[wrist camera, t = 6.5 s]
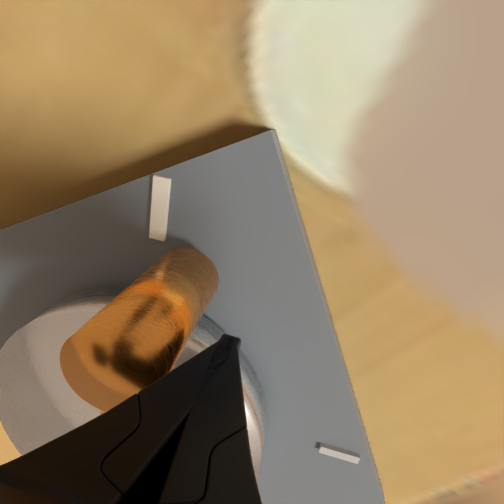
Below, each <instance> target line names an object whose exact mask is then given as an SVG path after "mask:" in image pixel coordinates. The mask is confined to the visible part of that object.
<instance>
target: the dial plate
mask: <svg viewBox="0 0 504 504" xmlns="http://www.w3.org/2000/svg"><path fill="white" fill-rule="evenodd" d="M181 247H187V248H192V249H195V250H198V251H200V252H202V253H203V254H205V255H206V256H207V257H208V258H209V259H210V260H211V261H212V262H213V264H214V265H215V267H216V269H217V272H218V276H219V285H218V289H217V291H216V293H215V295H214V297H213V299H212V300H211V302H210V304H209V305H208V307H207V309H206V311H205V312H204V314H203V316H204V317H206V318H207V319H209V320H210V321H211V322H213V323H214V324H215V325H216V326H218V327H219V328H220V329H221V330H222V331H223V332H225V333H226V334H228V335H232V336H235V337H239V338H240V339H241V346H240V349H241V350H242V352H243V353H244V355H245V356H246V357H247V359H248V360H249V361H250V363H251V365H252V367H253V368H254V370H255V372H256V374H257V376H258V378H259V381H260V383H261V386H262V388H263V391H264V396H265V400H266V405H267V424H266V431H265V438H264V444H263V451H262V457H261V464H260V470H259V475H258V478H257V485H258V489H259V493H260V497H261V501H262V504H385V499H384V494H383V488H382V485H381V481H380V478H379V475H378V471H377V468H376V465H375V461H374V458H373V455H372V451H371V448H370V445H369V441H368V438H367V435H366V431H365V428H364V425H363V421H362V418H361V414H360V411H359V408H358V404H357V401H356V398H355V394H354V391H353V388H352V384H351V381H350V378H349V374H348V371H347V368H346V364H345V361H344V358H343V354H342V351H341V348H340V344H339V341H338V337H337V334H336V331H335V327H334V324H333V321H332V317H331V314H330V311H329V307H328V304H327V301H326V297H325V294H324V291H323V287H322V284H321V281H320V277H319V274H318V270H317V267H316V264H315V260H314V257H313V254H312V250H311V247H310V244H309V240H308V237H307V234H306V230H305V227H304V224H303V220H302V217H301V214H300V210H299V207H298V204H297V200H296V197H295V193H294V190H293V187H292V183H291V180H290V177H289V173H288V170H287V167H286V163H285V160H284V157H283V153H282V150H281V147H280V143H279V140H278V137H277V133H276V130H269V131H266V132H264V133H261V134H258V135H256V136H253V137H250V138H247V139H245V140H242V141H239V142H237V143H234V144H231V145H228V146H226V147H223V148H220V149H218V150H215V151H212V152H209V153H207V154H204V155H201V156H199V157H196V158H193V159H190V160H188V161H185V162H182V163H180V164H177V165H174V166H171V167H169V168H166V169H163V170H160V171H158V172H155V173H152V174H150V175H147V176H144V177H141V178H139V179H136V180H133V181H131V182H128V183H125V184H122V185H120V186H117V187H114V188H112V189H109V190H106V191H103V192H101V193H98V194H95V195H93V196H90V197H87V198H84V199H82V200H79V201H76V202H74V203H71V204H68V205H65V206H63V207H60V208H57V209H55V210H52V211H49V212H46V213H44V214H41V215H38V216H36V217H33V218H30V219H27V220H25V221H22V222H19V223H17V224H14V225H11V226H8V227H6V228H3V229H0V350H1V348H2V347H3V345H4V344H5V342H6V341H7V340H8V339H9V338H10V337H11V336H12V335H13V334H14V333H15V332H16V331H18V330H19V329H21V328H22V327H24V326H25V325H26V324H28V323H29V322H31V321H32V320H34V319H35V318H37V317H38V316H39V315H41V314H42V313H44V312H45V311H47V310H48V309H50V308H51V307H52V306H54V305H55V304H57V303H58V302H60V301H62V300H63V299H65V298H67V297H69V296H71V295H74V294H76V293H78V292H82V291H86V290H90V289H96V288H106V287H120V288H127V287H128V286H129V285H130V284H132V283H133V282H134V281H135V280H136V279H137V278H138V277H140V276H141V275H142V274H143V273H144V272H145V271H147V270H148V269H149V268H150V267H151V266H152V265H153V264H155V263H156V262H157V261H158V260H159V259H160V258H161V257H163V256H164V255H165V254H166V253H167V252H169V251H170V250H173V249H175V248H181Z"/></svg>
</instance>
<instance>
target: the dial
mask: <svg viewBox="0 0 504 504" xmlns="http://www.w3.org/2000/svg"><path fill="white" fill-rule="evenodd" d="M218 285H219V276H218V272H217V269H216V267H215V265H214V264H213V262H212V261H211V260H210V259H209V258H208V257H207V256H206V255H205V254H203V253H202V252H200V251H198V250H195V249H192V248H187V247H181V248H175V249H173V250H170V251H169V252H167V253H166V254H165V255H164V256H163V257H161V258H160V259H159V260H158V261H157V262H156V263H155V264H153V265H152V266H151V267H150V268H149V269H148V270H147V271H145V272H144V273H143V274H142V275H141V276H140V277H138V278H137V279H136V280H135V281H134V282H133V283H132V284H130V285H129V286H128V287H127V288H120V287H106V288H96V289H90V290H86V291H82V292H78V293H76V294H74V295H71V296H69V297H67V298H65V299H63V300H62V301H60V302H58V303H57V304H55V305H54V306H52V307H51V308H50V309H48V310H47V311H45V312H44V313H42V314H41V315H39V316H38V317H37V318H35V319H34V320H32V321H31V322H29V323H28V324H26V325H25V326H24V327H22V328H21V329H19V330H18V331H16V332H15V333H14V334H13V335H12V336H11V337H10V338H9V339H8V340H7V341H6V342H5V344H4V345H3V347H2V348H1V350H0V421H1V423H2V425H3V428H4V429H5V431H6V433H7V435H8V436H9V438H10V440H11V441H12V443H13V444H14V445H15V447H16V448H17V450H18V451H19V452H20V453H21V455H22V456H23V455H25V454H26V453H28V452H30V451H32V450H34V449H36V448H38V447H40V446H42V445H44V444H46V443H48V442H50V441H52V440H54V439H56V438H58V437H60V436H62V435H63V434H65V433H67V432H69V431H71V430H73V429H75V428H77V427H79V426H81V425H83V424H85V423H87V422H88V421H90V420H92V419H94V418H96V417H98V416H99V415H101V414H103V413H105V412H107V411H108V410H110V409H111V408H113V407H115V406H116V405H118V404H120V403H121V402H123V401H125V400H126V399H128V398H129V397H131V396H132V395H134V394H136V393H137V394H138V392H139V391H140V390H142V389H144V388H145V387H147V386H148V385H150V384H151V383H153V382H155V381H156V380H158V379H159V378H161V377H162V376H164V375H165V374H167V373H169V372H170V371H172V370H173V369H175V368H176V367H178V366H179V365H181V364H183V363H184V362H186V361H187V360H189V359H190V358H192V357H194V356H195V355H197V354H198V353H200V352H201V351H203V350H204V349H206V348H208V347H209V346H211V345H212V344H214V343H215V342H217V341H218V340H219V339H220V337H221V336H222V335H223V334H226V333H225V332H223V331H222V330H221V329H220V328H219V327H218V326H216V325H215V324H214V323H213V322H211V321H210V320H209V319H207V318H206V317H204V316H203V314H204V312H205V311H206V309H207V307H208V305H209V304H210V302H211V300H212V299H213V297H214V295H215V293H216V291H217V289H218ZM239 361H240V369H241V378H242V386H243V395H244V403H245V412H246V420H247V429H248V436H249V444H250V450H251V456H252V463H253V467H254V472H255V476H256V481H257V478H258V475H259V470H260V464H261V457H262V451H263V444H264V438H265V431H266V424H267V405H266V400H265V396H264V391H263V388H262V386H261V383H260V381H259V378H258V376H257V374H256V372H255V370H254V368H253V367H252V365H251V363H250V361H249V360H248V359H247V357H246V356H245V355H244V353H243V352H242V350H241V349H240V351H239Z"/></svg>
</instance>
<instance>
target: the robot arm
mask: <svg viewBox="0 0 504 504" xmlns="http://www.w3.org/2000/svg"><path fill="white" fill-rule="evenodd" d="M240 346H241V339H240V338H239V337H235V336H232V335H228V334H223V335H222V336H221V337H220V339H219V340H218V341H217V342H215V343H214V344H212V345H211V346H209V347H208V348H206V349H204V350H203V351H201V352H200V353H198V354H197V355H195V356H194V357H192V358H190V359H189V360H187V361H186V362H184V363H183V364H181V365H179V366H178V367H176V368H175V369H173V370H172V371H170V372H169V373H167V374H165V375H164V376H162V377H161V378H159V379H158V380H156V381H155V382H153V383H151V384H150V385H148V386H147V387H145V388H144V389H142V390H140V391H139V392H138V394H137V393H136V394H134V395H132V396H131V397H129V398H128V399H126V400H125V401H123V402H121V403H120V404H118V405H116V406H115V407H113V408H111V409H110V410H108V411H107V412H105V413H103V414H101V415H99V416H98V417H96V418H94V419H92V420H90V421H88V422H87V423H85V424H83V425H81V426H79V427H77V428H75V429H73V430H71V431H69V432H67V433H65V434H63V435H62V436H60V437H58V438H56V439H54V440H52V441H50V442H48V443H46V444H44V445H42V446H40V447H38V448H36V449H34V450H32V451H30V452H28V453H26V454H25V455H23V456H21V457H19V458H16V459H14V460H12V461H10V462H8V463H5V464H3V465H0V504H262V501H261V497H260V493H259V489H258V485H257V481H256V476H255V472H254V467H253V463H252V456H251V450H250V444H249V436H248V429H247V420H246V412H245V403H244V395H243V386H242V378H241V369H240V361H239V351H240Z"/></svg>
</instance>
